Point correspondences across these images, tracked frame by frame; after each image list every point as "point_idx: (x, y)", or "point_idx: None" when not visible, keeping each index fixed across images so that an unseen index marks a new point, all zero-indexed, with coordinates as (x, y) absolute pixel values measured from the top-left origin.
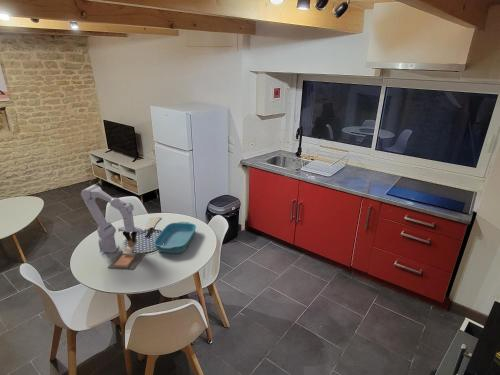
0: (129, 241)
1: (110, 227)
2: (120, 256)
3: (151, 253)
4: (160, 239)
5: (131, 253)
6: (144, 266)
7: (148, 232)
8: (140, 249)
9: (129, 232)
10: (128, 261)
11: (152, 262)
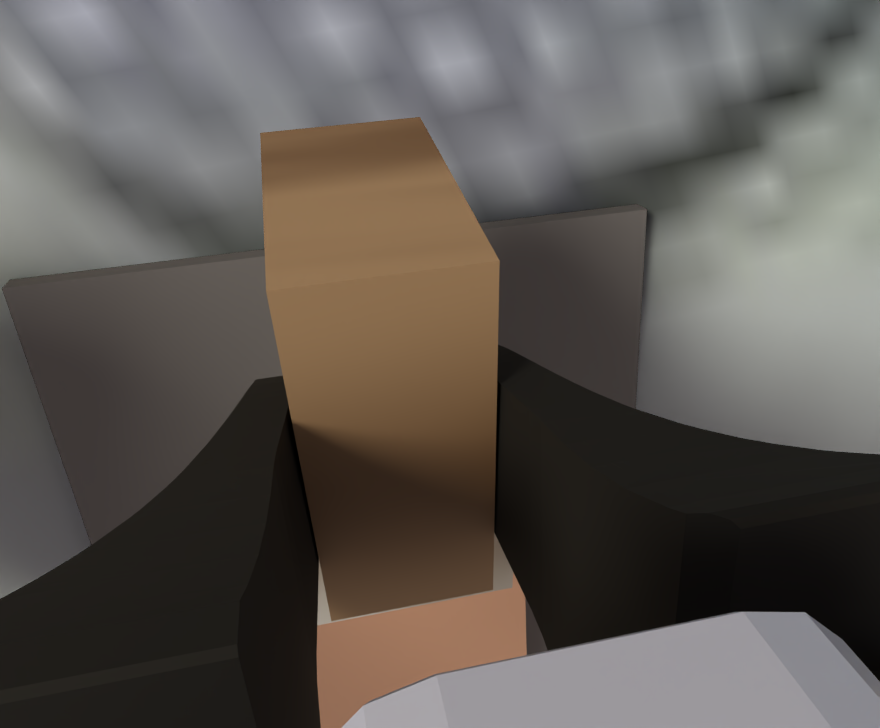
0: (406, 602)
1: None
2: (159, 491)
3: (765, 192)
4: None
5: (506, 584)
6: None
7: None
8: (439, 75)
9: (270, 601)
10: (493, 653)
11: (849, 451)
